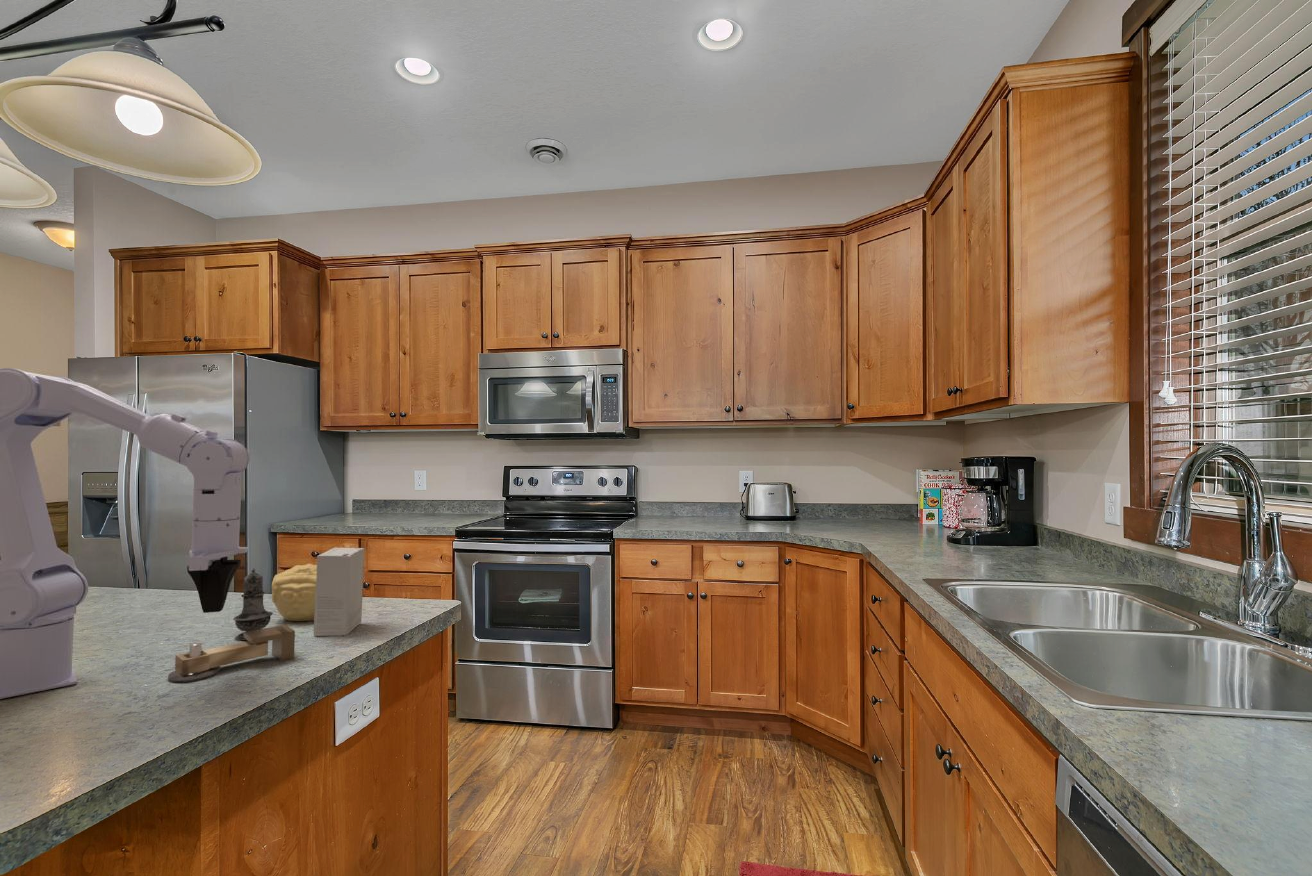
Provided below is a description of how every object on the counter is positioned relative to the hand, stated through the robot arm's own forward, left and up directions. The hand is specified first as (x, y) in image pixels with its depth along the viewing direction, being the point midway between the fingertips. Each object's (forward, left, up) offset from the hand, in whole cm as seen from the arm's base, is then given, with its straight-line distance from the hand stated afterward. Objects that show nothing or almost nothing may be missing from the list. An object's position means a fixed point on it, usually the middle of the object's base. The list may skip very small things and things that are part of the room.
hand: (213, 611), depth 87 cm
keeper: (+8, +2, -9) cm, 12 cm away
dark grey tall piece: (+9, +17, -9) cm, 22 cm away
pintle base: (-2, +2, -9) cm, 10 cm away
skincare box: (+21, +11, -10) cm, 26 cm away
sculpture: (+20, +25, -10) cm, 33 cm away
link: (+2, +2, -8) cm, 9 cm away
